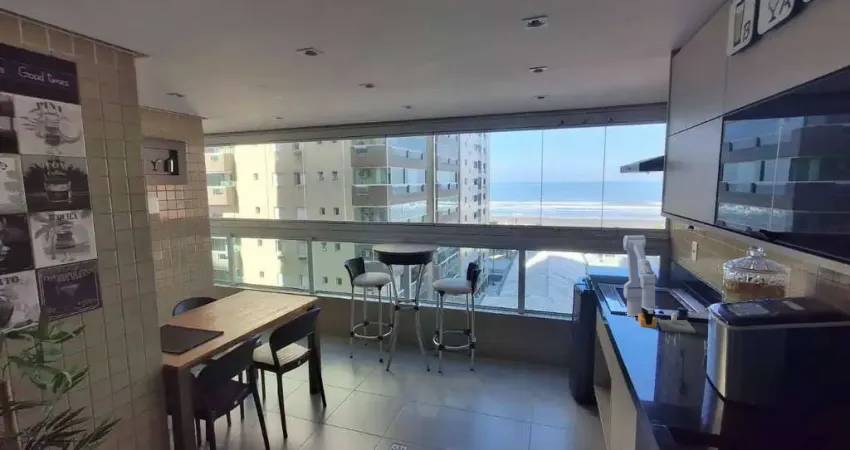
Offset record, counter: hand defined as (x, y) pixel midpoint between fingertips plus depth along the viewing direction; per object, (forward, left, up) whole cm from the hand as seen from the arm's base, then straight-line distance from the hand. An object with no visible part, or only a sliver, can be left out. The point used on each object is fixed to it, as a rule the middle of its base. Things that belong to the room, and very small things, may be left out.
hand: (648, 323), depth 198 cm
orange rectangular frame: (-5, 0, -1) cm, 5 cm away
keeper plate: (-5, +12, -1) cm, 13 cm away
